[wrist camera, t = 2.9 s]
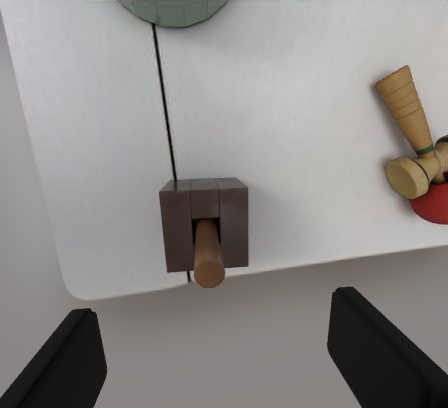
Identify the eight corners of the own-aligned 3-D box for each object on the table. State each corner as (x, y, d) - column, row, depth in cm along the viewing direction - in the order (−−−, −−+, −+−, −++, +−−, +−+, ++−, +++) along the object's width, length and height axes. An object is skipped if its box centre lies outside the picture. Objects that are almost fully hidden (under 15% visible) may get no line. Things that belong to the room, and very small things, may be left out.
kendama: (337, 106, 26) (404, 235, 28) (384, 78, 20) (466, 245, 22) (385, 76, 28) (446, 202, 30) (445, 40, 21) (517, 202, 23)
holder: (175, 241, 27) (167, 273, 20) (170, 180, 25) (158, 191, 18) (236, 237, 28) (248, 266, 21) (235, 177, 26) (248, 187, 19)
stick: (197, 218, 27) (194, 290, 13) (196, 203, 26) (192, 261, 13) (212, 217, 27) (225, 287, 13) (212, 202, 26) (224, 259, 13)
